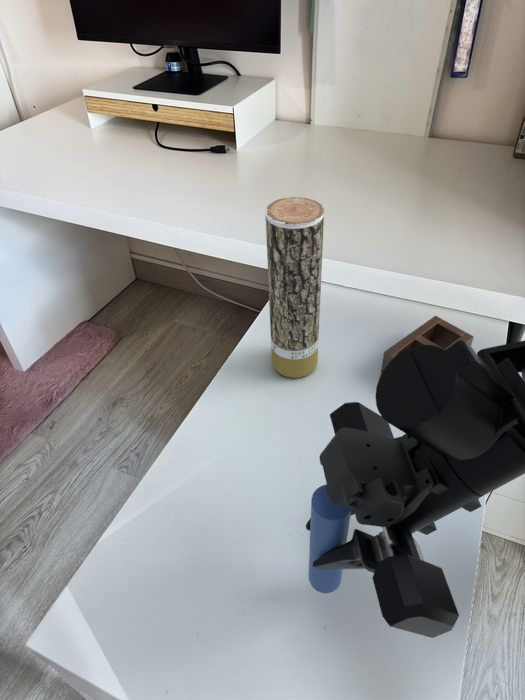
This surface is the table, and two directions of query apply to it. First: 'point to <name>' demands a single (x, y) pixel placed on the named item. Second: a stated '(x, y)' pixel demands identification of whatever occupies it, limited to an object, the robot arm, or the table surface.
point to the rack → (428, 338)
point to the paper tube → (294, 282)
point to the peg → (326, 538)
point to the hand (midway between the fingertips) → (312, 546)
